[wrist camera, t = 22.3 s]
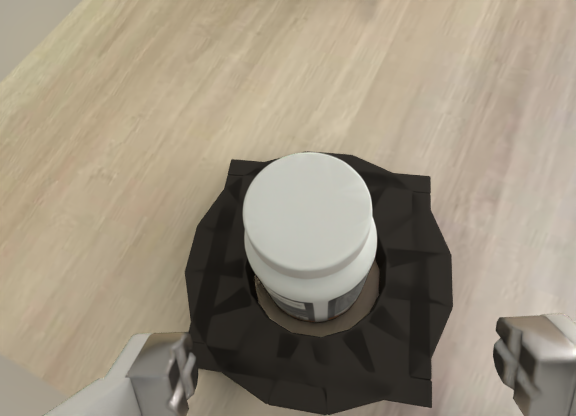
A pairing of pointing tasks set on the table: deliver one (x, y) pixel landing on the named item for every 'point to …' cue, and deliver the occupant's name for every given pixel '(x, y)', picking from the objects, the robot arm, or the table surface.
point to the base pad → (336, 347)
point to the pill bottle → (310, 234)
